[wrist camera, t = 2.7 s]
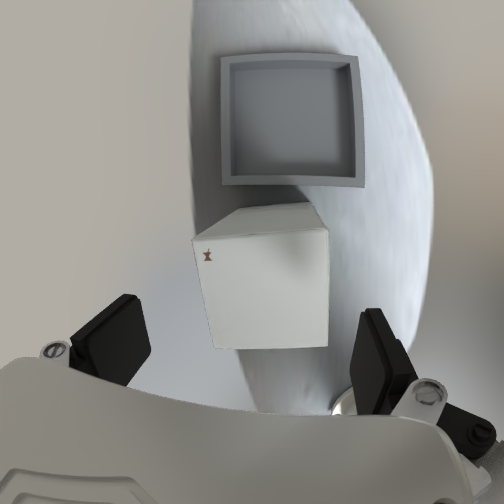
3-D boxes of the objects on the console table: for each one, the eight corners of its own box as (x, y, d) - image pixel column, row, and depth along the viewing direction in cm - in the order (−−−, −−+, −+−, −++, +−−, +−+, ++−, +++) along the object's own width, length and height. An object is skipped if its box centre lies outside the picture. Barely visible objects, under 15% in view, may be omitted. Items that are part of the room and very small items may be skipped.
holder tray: (357, 186, 24) (364, 187, 21) (230, 183, 26) (221, 185, 23) (352, 67, 21) (357, 56, 18) (228, 68, 22) (220, 57, 20)
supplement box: (245, 278, 28) (209, 351, 16) (237, 206, 26) (186, 235, 14) (318, 275, 27) (329, 350, 15) (314, 200, 25) (329, 225, 13)
